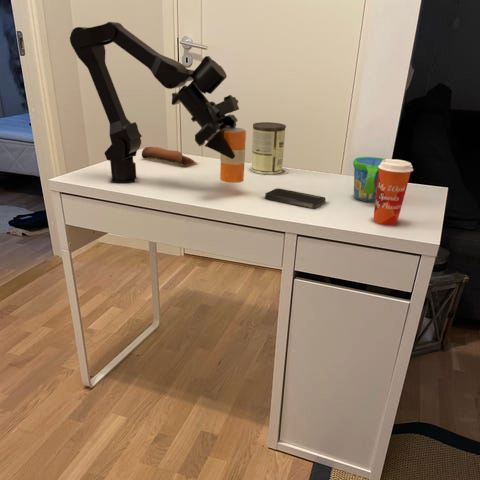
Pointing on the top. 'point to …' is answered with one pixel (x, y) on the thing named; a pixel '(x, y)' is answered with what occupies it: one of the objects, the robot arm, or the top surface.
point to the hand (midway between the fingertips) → (237, 155)
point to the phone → (295, 198)
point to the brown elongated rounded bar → (167, 155)
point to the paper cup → (391, 190)
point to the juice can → (234, 167)
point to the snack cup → (366, 177)
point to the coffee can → (268, 147)
